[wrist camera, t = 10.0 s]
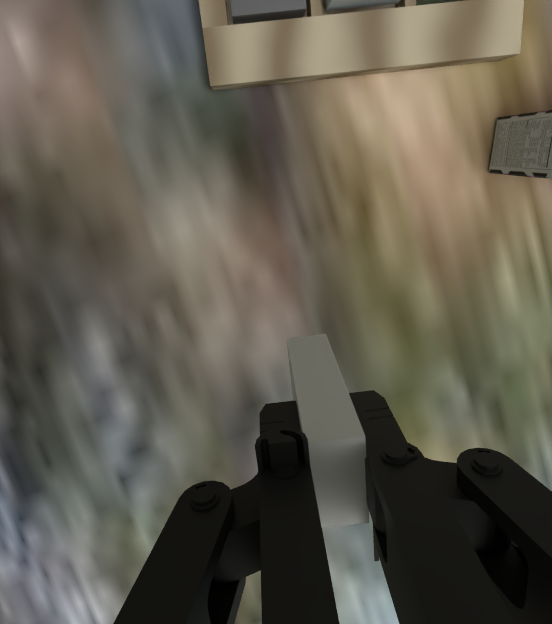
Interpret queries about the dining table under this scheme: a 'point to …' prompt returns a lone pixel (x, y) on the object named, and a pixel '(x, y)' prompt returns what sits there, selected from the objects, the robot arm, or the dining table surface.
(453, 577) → the robot arm
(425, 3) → the key sage
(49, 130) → the dining table surface
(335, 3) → the key slate
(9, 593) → the dining table surface
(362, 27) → the keypad
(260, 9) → the key charcoal
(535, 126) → the candy bar box
